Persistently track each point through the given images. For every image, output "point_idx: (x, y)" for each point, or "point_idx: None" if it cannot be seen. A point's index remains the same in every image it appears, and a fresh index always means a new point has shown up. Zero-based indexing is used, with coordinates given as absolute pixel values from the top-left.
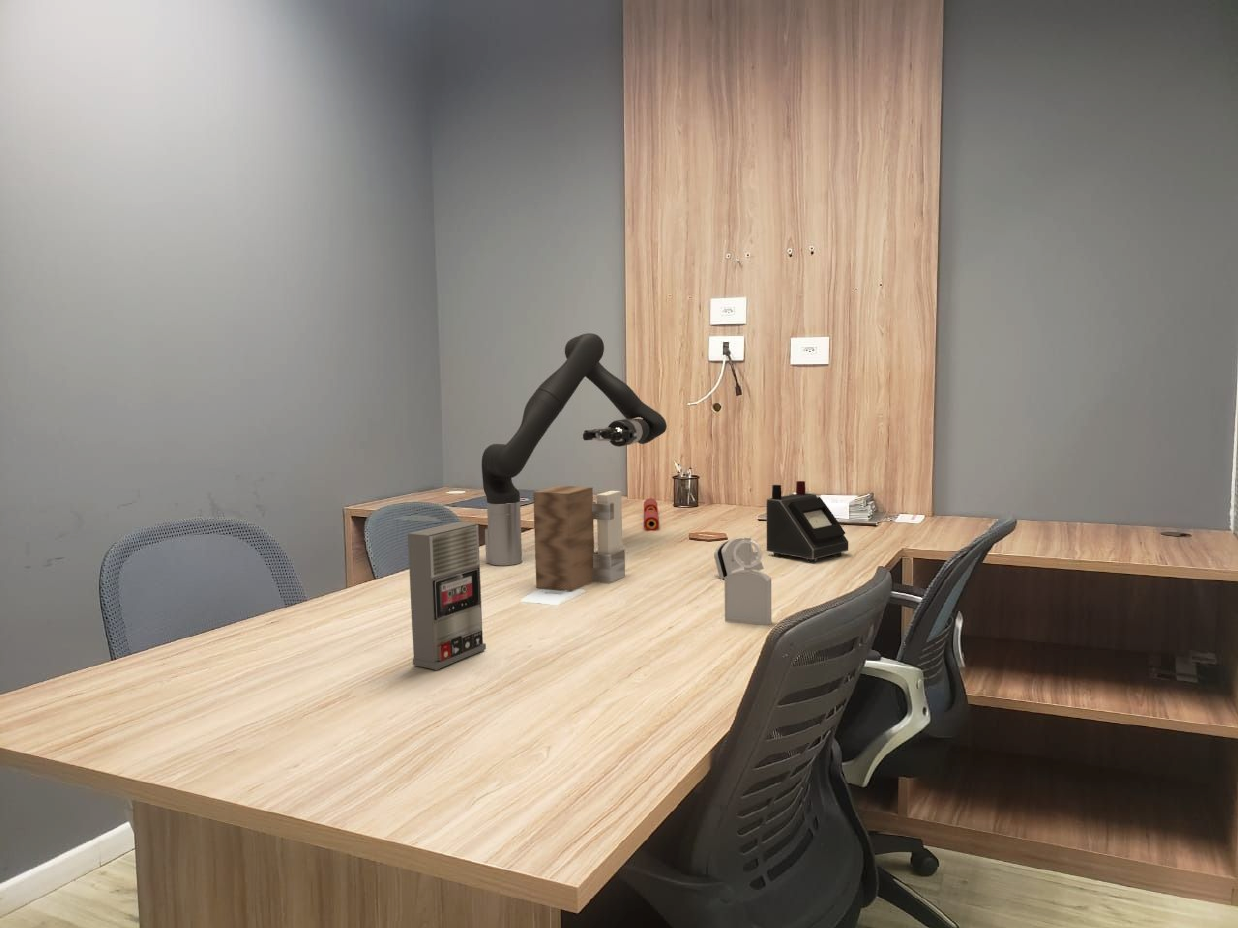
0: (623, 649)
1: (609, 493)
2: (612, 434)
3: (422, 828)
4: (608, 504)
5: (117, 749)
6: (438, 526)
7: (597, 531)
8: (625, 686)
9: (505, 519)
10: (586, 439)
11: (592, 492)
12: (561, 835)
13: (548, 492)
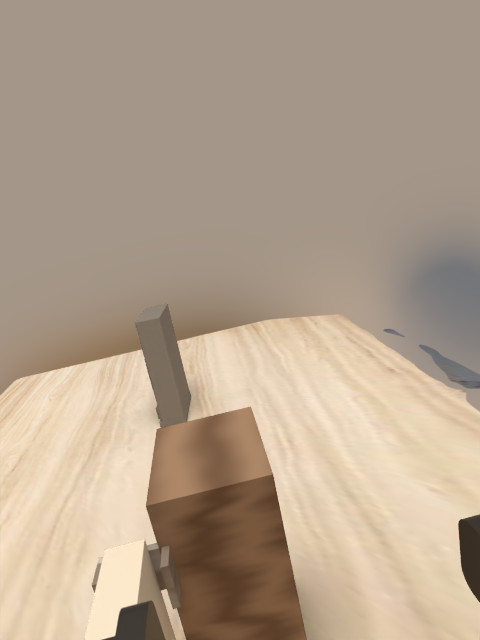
0: (35, 486)
1: (110, 581)
2: (132, 609)
3: (77, 367)
4: (100, 557)
5: (231, 332)
6: (162, 311)
7: (173, 633)
8: (20, 447)
9: None
10: (470, 583)
11: (150, 518)
12: (27, 383)
13: (211, 417)
